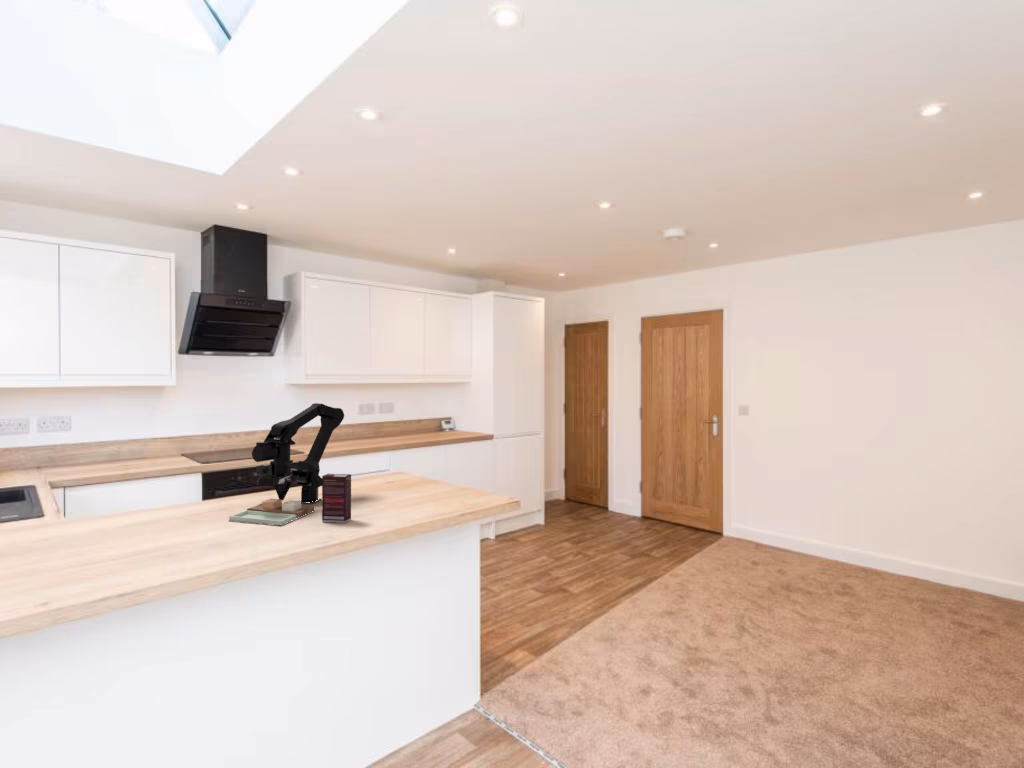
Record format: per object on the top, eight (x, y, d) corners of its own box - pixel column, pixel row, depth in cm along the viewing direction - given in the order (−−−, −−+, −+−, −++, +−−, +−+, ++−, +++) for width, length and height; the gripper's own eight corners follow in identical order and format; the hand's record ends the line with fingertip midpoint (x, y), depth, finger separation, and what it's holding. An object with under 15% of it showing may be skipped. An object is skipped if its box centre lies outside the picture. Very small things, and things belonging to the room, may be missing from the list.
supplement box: (351, 519, 178) (352, 473, 178) (345, 523, 174) (346, 476, 173) (327, 518, 179) (328, 473, 179) (321, 522, 174) (321, 475, 174)
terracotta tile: (270, 505, 187) (270, 498, 187) (281, 506, 186) (281, 499, 186) (262, 508, 183) (262, 501, 183) (273, 509, 182) (273, 502, 182)
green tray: (246, 514, 182) (246, 510, 182) (296, 519, 177) (296, 514, 177) (229, 521, 174) (229, 516, 174) (280, 526, 170) (280, 521, 170)
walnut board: (266, 507, 192) (266, 501, 192) (314, 511, 187) (314, 506, 187) (247, 514, 182) (247, 508, 182) (296, 519, 178) (296, 513, 178)
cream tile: (290, 507, 185) (290, 500, 185) (301, 508, 184) (301, 501, 184) (281, 510, 181) (281, 503, 181) (293, 511, 180) (293, 504, 180)
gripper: (279, 453, 200) (279, 493, 200) (244, 460, 182) (244, 504, 182) (305, 454, 197) (304, 495, 198) (271, 462, 179) (271, 507, 180)
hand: (281, 500), depth 189 cm, fingers closed
